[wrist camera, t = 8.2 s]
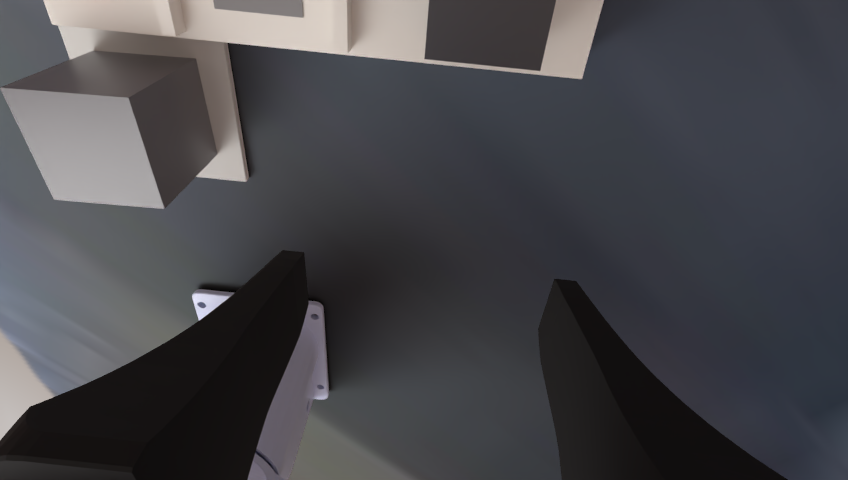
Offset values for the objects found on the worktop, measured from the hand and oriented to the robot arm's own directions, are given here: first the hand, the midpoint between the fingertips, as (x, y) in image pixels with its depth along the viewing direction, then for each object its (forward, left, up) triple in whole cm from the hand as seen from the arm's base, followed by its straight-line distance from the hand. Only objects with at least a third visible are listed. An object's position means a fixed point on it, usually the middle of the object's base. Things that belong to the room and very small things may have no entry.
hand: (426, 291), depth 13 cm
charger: (+1, +13, -10) cm, 16 cm away
